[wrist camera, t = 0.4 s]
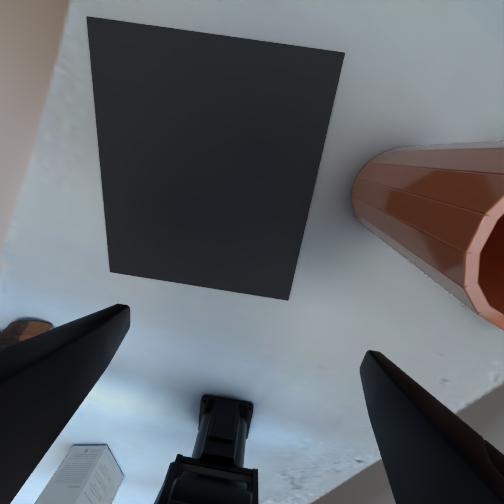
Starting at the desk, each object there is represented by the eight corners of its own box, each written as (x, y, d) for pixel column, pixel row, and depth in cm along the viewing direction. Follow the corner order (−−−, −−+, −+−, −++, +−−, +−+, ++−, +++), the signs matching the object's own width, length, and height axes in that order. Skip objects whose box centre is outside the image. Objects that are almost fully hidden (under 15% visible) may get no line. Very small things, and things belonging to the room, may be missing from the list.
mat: (288, 299, 24) (288, 300, 24) (111, 270, 25) (109, 272, 24) (343, 54, 17) (345, 52, 17) (89, 18, 17) (86, 16, 17)
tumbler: (419, 238, 21) (613, 348, 9) (341, 226, 21) (431, 319, 9) (454, 154, 19) (789, 154, 7) (365, 141, 19) (534, 117, 7)
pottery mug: (79, 320, 28) (44, 405, 23) (93, 346, 35) (68, 415, 30) (-55, 310, 25) (-131, 405, 20) (-11, 340, 32) (-58, 416, 27)
